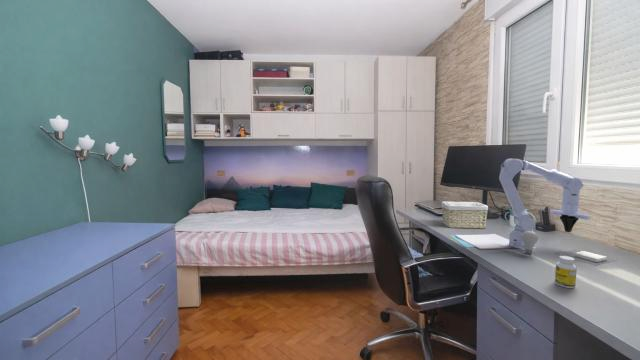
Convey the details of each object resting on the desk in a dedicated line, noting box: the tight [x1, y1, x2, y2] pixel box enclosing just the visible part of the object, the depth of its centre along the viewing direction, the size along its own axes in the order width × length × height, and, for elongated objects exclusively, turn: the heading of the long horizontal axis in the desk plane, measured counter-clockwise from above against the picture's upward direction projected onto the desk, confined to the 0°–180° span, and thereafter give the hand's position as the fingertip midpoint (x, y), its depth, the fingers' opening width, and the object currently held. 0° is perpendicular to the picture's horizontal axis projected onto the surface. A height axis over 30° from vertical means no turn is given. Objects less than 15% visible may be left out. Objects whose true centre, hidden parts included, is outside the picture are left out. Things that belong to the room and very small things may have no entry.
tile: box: [574, 250, 608, 262], centre depth 121 cm, size 7×2×8 cm
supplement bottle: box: [554, 255, 578, 289], centre depth 97 cm, size 5×5×10 cm
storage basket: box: [441, 200, 489, 229], centre depth 181 cm, size 24×16×15 cm
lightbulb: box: [521, 231, 539, 255], centre depth 128 cm, size 6×6×11 cm
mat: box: [554, 249, 618, 266], centre depth 123 cm, size 16×15×1 cm
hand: (568, 231), depth 132 cm, fingers closed
